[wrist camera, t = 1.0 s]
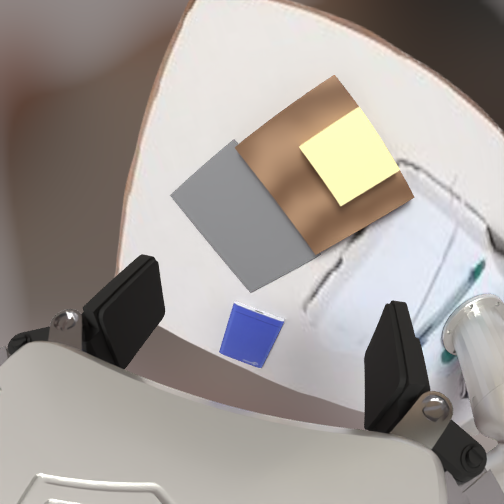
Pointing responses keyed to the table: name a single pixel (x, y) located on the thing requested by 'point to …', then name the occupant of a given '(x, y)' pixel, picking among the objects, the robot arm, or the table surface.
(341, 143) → the sticky pad
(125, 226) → the table surface
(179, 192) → the mat
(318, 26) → the table surface
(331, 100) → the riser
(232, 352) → the hard drive
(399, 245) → the table surface
